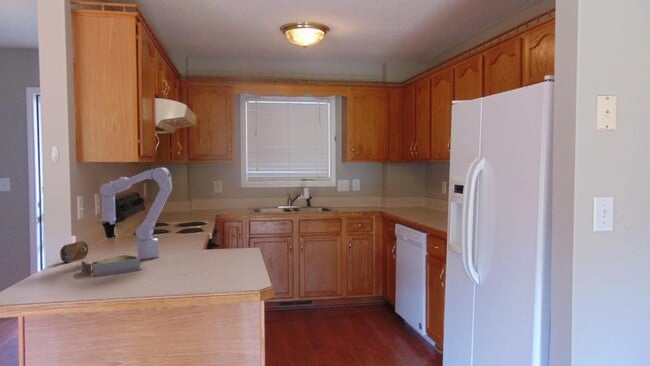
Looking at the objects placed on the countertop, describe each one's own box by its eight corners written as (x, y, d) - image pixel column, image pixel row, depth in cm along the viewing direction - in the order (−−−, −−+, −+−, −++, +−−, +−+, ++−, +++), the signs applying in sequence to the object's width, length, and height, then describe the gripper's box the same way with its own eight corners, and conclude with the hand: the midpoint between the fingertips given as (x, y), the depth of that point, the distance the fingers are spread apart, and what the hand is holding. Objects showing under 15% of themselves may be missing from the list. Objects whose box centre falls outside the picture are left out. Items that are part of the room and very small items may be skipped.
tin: (65, 264, 203) (64, 245, 203) (59, 264, 204) (58, 245, 203) (88, 257, 218) (88, 239, 217) (83, 257, 218) (82, 239, 218)
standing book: (86, 271, 190) (86, 259, 190) (91, 275, 183) (90, 263, 183) (82, 271, 189) (81, 260, 189) (86, 276, 182) (85, 264, 182)
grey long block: (139, 268, 195) (139, 258, 195) (141, 269, 192) (141, 259, 192) (93, 275, 184) (93, 264, 184) (95, 276, 181) (94, 265, 181)
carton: (92, 271, 192) (92, 261, 191) (124, 263, 206) (123, 254, 206) (105, 273, 188) (105, 263, 188) (137, 265, 202) (136, 255, 202)
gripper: (96, 208, 216) (96, 236, 217) (102, 211, 205) (103, 240, 206) (112, 207, 221) (112, 235, 221) (119, 210, 209) (120, 239, 210)
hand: (109, 237), depth 214 cm, fingers closed
